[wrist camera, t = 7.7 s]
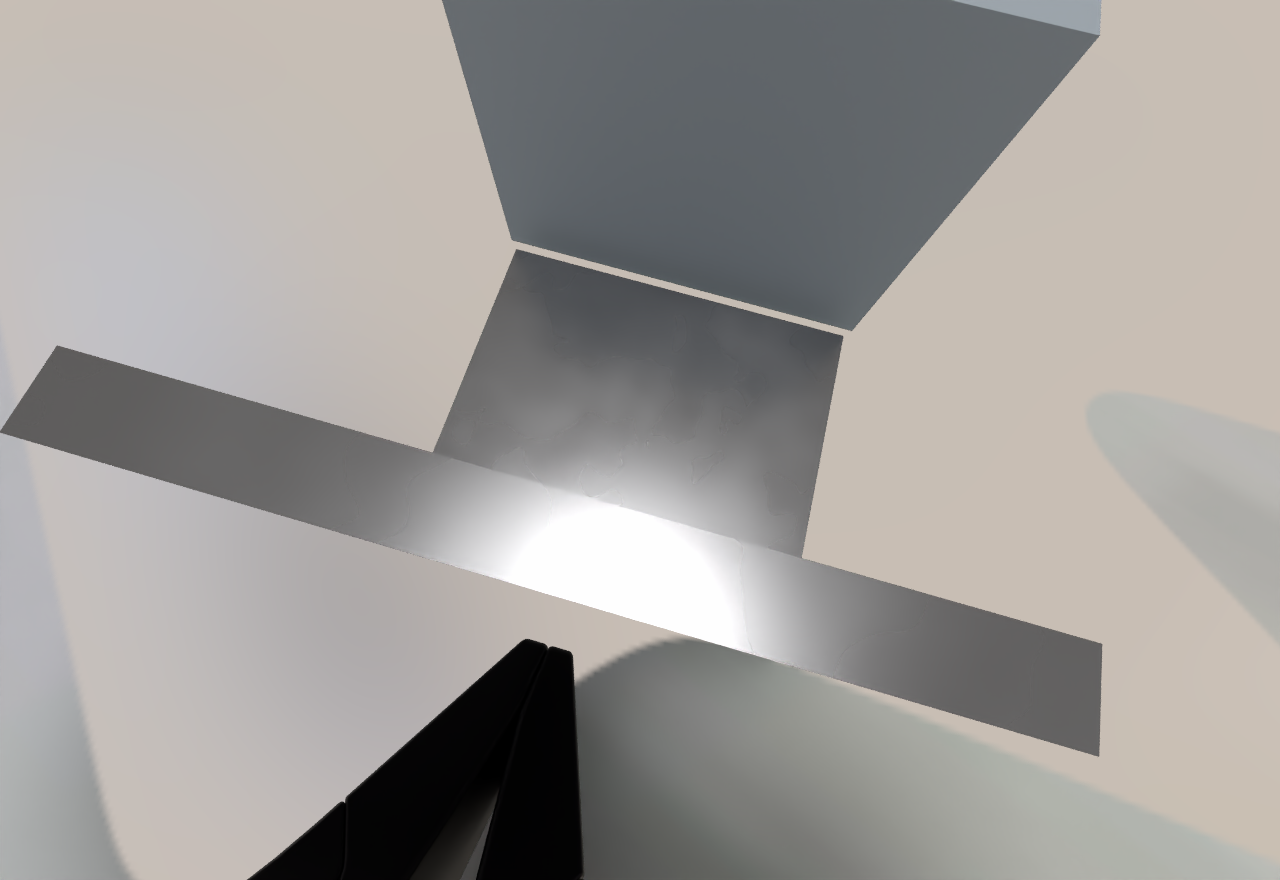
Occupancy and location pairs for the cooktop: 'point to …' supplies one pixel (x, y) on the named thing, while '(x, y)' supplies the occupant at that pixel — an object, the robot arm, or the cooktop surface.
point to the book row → (755, 130)
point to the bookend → (603, 488)
